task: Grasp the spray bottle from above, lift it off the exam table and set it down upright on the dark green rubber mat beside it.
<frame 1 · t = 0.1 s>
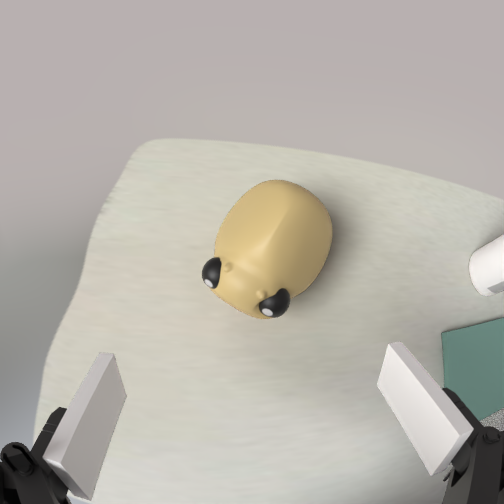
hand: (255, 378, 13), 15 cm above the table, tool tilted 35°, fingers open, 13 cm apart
toy pig: (263, 267, 31), on the table
mat: (478, 373, 27), on the table
spray bottle: (482, 273, 32), on the table
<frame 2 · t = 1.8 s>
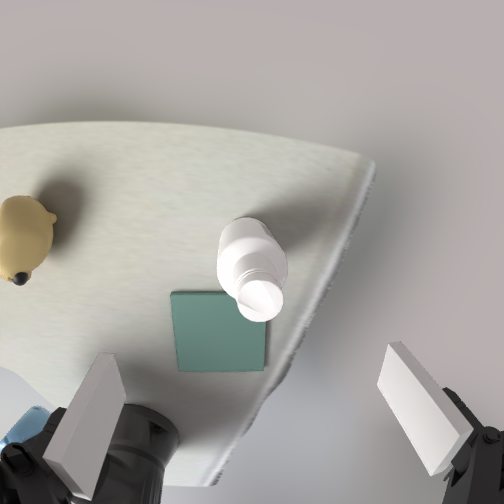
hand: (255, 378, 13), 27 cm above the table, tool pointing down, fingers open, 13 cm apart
toy pig: (39, 231, 36), on the table
mat: (219, 333, 42), on the table
spray bottle: (245, 242, 39), on the table
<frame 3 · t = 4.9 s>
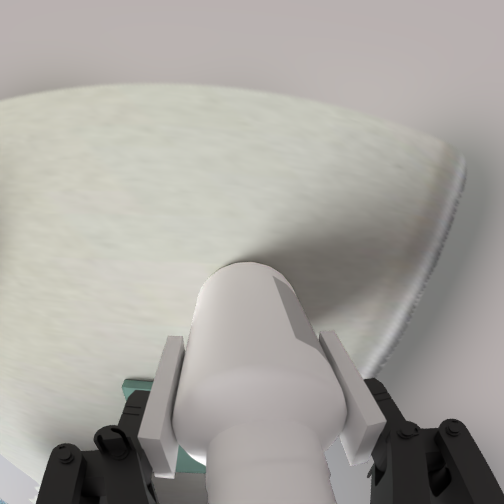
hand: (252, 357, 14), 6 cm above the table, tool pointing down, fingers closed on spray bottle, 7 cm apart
mat: (208, 432, 24), on the table
spray bottle: (246, 306, 21), on the table, touching gripper
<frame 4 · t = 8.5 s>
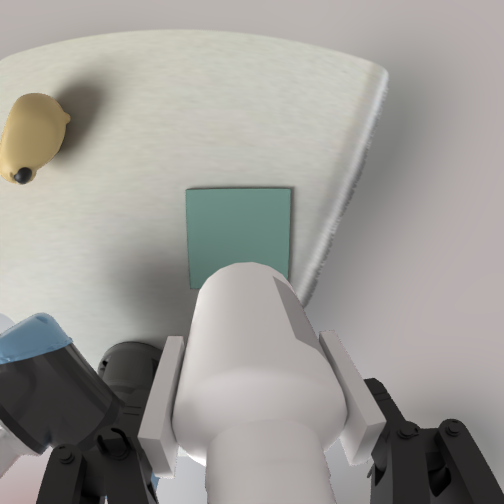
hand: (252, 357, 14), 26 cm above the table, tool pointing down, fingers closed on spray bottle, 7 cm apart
toy pig: (49, 139, 33), on the table
mat: (238, 238, 39), on the table
spray bottle: (246, 306, 20), point 19 cm above the table, touching gripper
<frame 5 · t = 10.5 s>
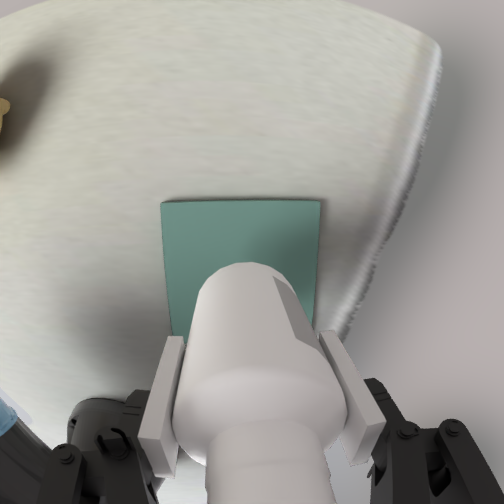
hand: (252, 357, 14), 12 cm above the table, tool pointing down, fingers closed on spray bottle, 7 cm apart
mat: (241, 274, 26), on the table
spray bottle: (246, 306, 20), point 6 cm above the table, touching gripper
when the fingers open (8 cm above the table, at t = 12.2 s): spray bottle drops 1 cm, resting on mat.
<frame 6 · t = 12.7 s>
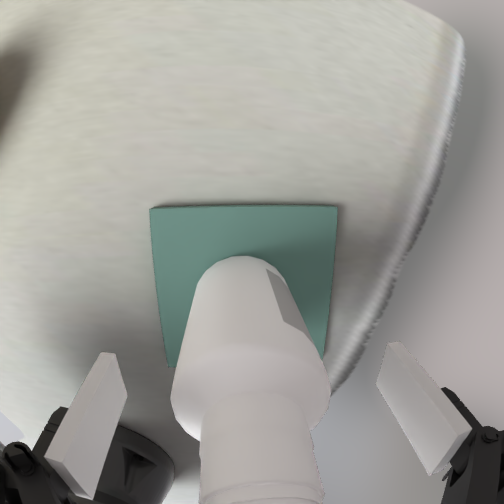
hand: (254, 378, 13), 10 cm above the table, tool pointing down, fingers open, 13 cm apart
mat: (244, 291, 23), on the table
spray bottle: (241, 297, 22), point 1 cm above the table, touching mat
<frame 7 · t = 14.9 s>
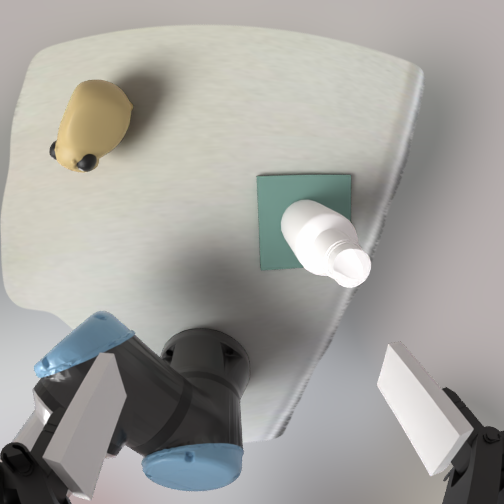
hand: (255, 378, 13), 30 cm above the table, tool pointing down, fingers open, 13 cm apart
toy pig: (106, 128, 36), on the table
mat: (305, 221, 41), on the table
spray bottle: (304, 223, 41), point 1 cm above the table, touching mat
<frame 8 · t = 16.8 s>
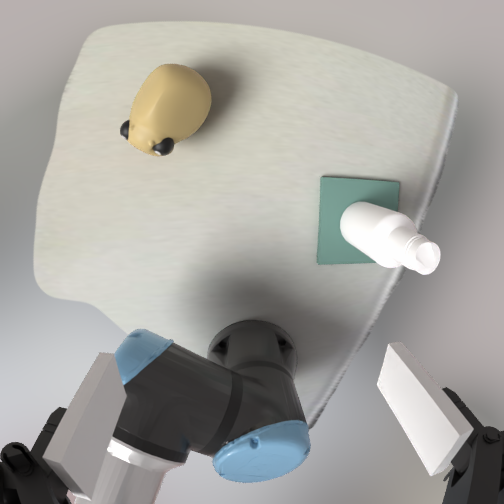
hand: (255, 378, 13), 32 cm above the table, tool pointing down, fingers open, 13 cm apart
toy pig: (174, 115, 38), on the table
mat: (358, 221, 44), on the table
spray bottle: (359, 223, 43), point 1 cm above the table, touching mat
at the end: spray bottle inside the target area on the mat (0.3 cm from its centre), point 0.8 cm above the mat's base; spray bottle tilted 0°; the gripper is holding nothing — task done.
